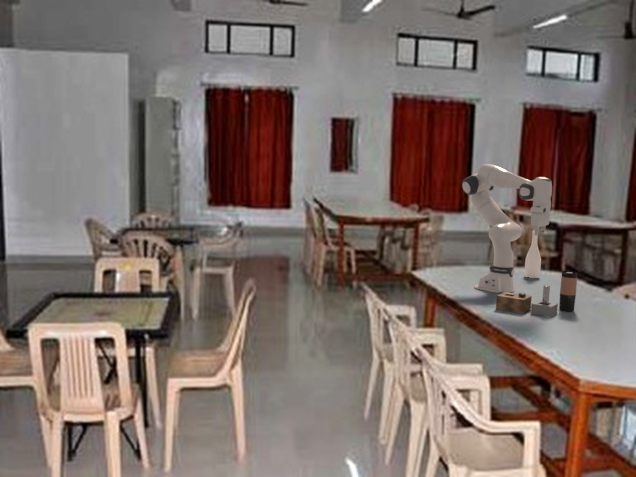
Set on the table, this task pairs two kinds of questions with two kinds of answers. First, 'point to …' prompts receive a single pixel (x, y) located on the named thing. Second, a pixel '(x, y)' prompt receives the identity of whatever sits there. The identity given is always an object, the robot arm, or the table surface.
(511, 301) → the socket block
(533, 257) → the wine bottle
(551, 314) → the grey square ring block
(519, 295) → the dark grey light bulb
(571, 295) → the travel mug
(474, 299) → the table surface
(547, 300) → the grey tapered rounded rod
